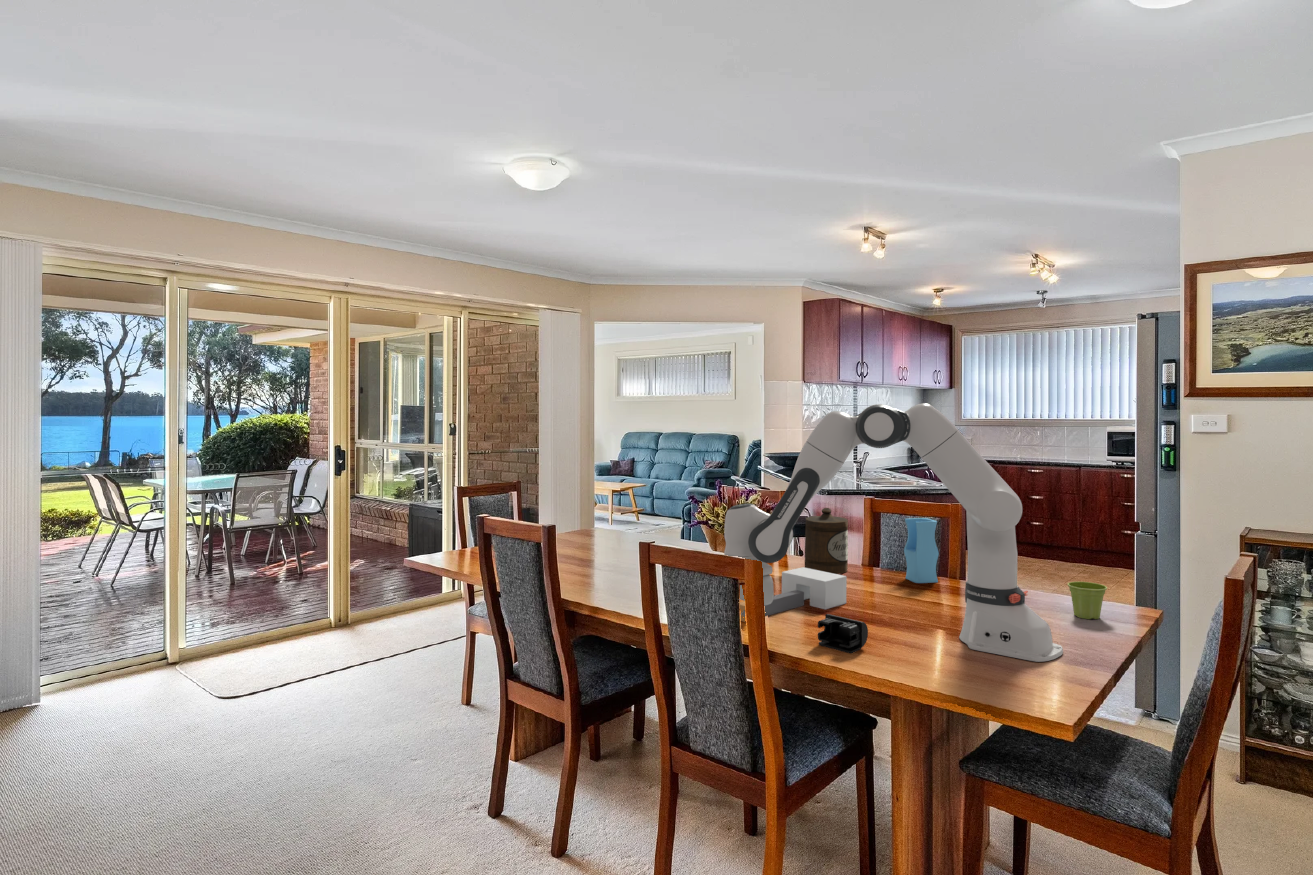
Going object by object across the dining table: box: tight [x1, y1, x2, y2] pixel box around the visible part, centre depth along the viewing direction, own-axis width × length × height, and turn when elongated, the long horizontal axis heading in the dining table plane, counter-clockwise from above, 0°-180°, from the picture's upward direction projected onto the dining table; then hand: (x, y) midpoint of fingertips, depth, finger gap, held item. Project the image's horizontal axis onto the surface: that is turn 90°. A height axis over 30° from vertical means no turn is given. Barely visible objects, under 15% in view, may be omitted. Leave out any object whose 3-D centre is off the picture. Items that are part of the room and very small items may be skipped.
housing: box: [781, 566, 848, 610], centre depth 217 cm, size 16×10×8 cm, turn 40°
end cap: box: [817, 613, 869, 654], centre depth 176 cm, size 10×7×7 cm
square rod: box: [739, 590, 805, 623], centre depth 205 cm, size 4×26×4 cm, turn 130°
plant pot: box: [1067, 581, 1108, 620], centre depth 200 cm, size 9×9×9 cm
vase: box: [903, 517, 940, 584], centre depth 243 cm, size 8×8×20 cm
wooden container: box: [804, 507, 849, 575], centre depth 258 cm, size 15×15×22 cm
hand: (740, 614), depth 197 cm, fingers closed on square rod, 3 cm apart
